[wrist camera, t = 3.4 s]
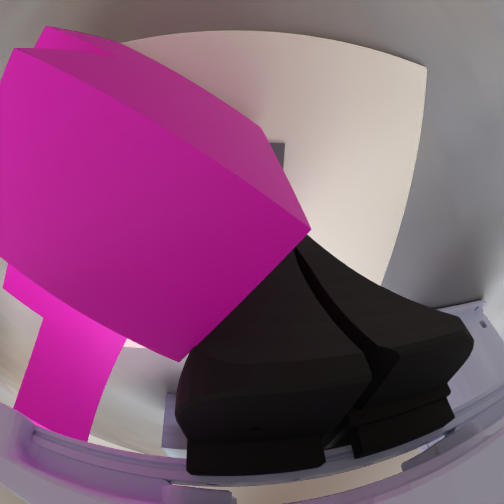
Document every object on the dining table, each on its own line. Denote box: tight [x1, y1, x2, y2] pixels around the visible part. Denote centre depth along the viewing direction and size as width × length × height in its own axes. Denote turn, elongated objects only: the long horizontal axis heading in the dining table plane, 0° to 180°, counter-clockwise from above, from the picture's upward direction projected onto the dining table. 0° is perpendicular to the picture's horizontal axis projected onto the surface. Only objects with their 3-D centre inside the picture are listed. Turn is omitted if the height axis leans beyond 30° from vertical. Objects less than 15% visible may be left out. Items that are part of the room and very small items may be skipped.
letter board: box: [121, 30, 427, 348], centre depth 11 cm, size 17×16×1 cm
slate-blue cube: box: [161, 393, 187, 459], centre depth 19 cm, size 5×5×5 cm
